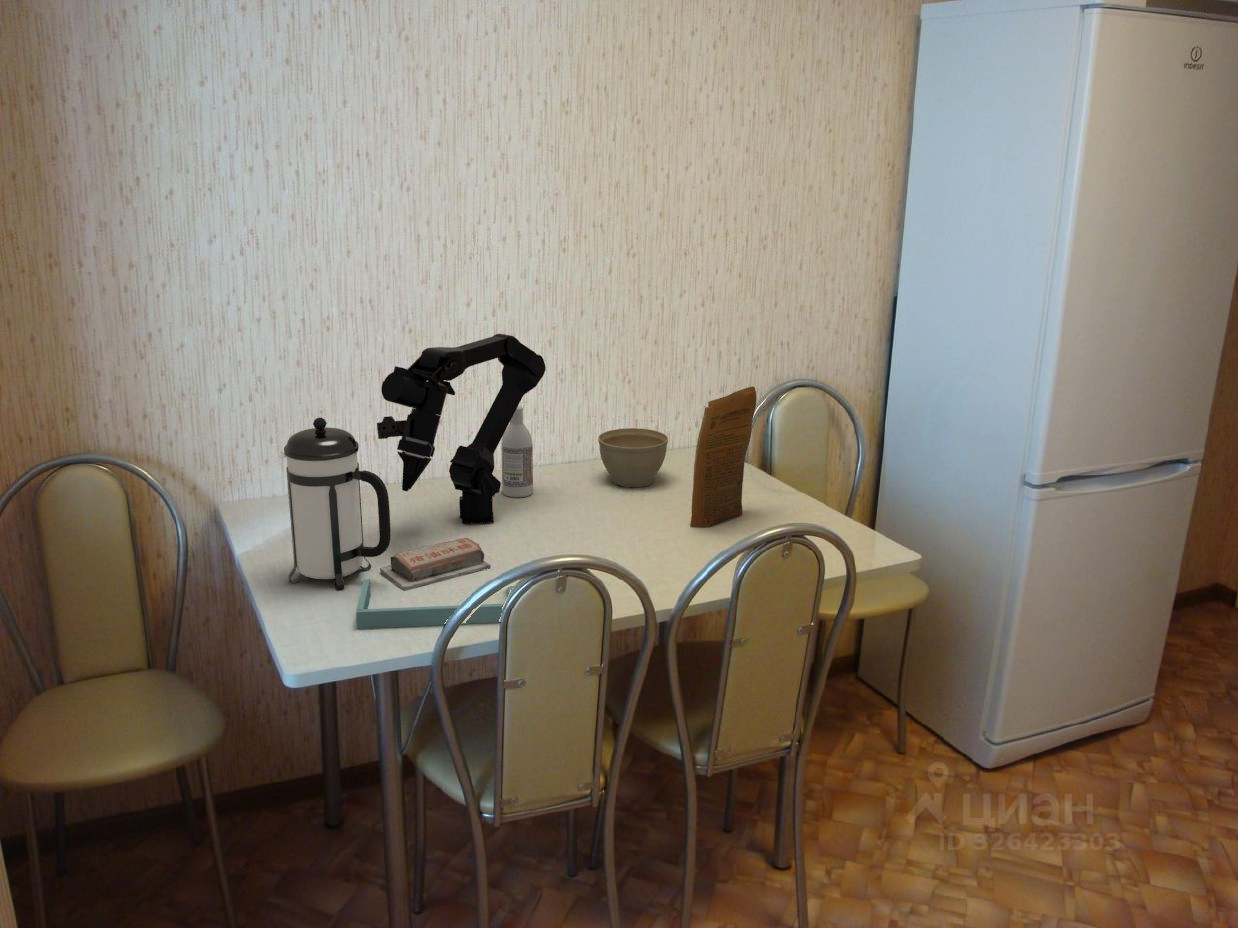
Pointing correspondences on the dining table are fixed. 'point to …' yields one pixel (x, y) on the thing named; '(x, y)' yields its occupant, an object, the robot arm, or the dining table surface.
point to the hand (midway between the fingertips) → (406, 489)
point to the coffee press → (330, 504)
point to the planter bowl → (632, 455)
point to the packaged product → (435, 563)
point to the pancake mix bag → (722, 458)
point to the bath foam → (517, 458)
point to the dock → (417, 613)
